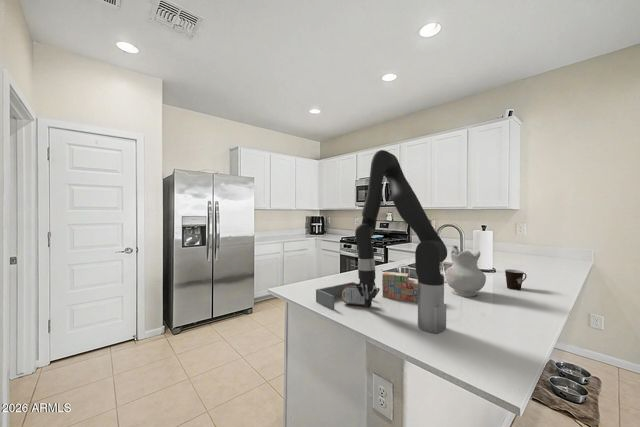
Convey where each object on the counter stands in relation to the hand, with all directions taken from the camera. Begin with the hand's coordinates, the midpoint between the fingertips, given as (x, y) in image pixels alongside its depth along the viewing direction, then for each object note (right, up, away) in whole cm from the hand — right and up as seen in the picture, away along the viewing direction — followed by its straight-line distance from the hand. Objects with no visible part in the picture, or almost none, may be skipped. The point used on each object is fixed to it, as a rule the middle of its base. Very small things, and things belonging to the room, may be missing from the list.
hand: (368, 307), depth 121 cm
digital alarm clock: (-5, -1, +6) cm, 7 cm away
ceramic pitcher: (+56, -1, +26) cm, 61 cm away
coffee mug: (+91, -1, +33) cm, 97 cm away
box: (-10, -1, +13) cm, 16 cm away
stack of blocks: (+21, -2, +16) cm, 27 cm away
